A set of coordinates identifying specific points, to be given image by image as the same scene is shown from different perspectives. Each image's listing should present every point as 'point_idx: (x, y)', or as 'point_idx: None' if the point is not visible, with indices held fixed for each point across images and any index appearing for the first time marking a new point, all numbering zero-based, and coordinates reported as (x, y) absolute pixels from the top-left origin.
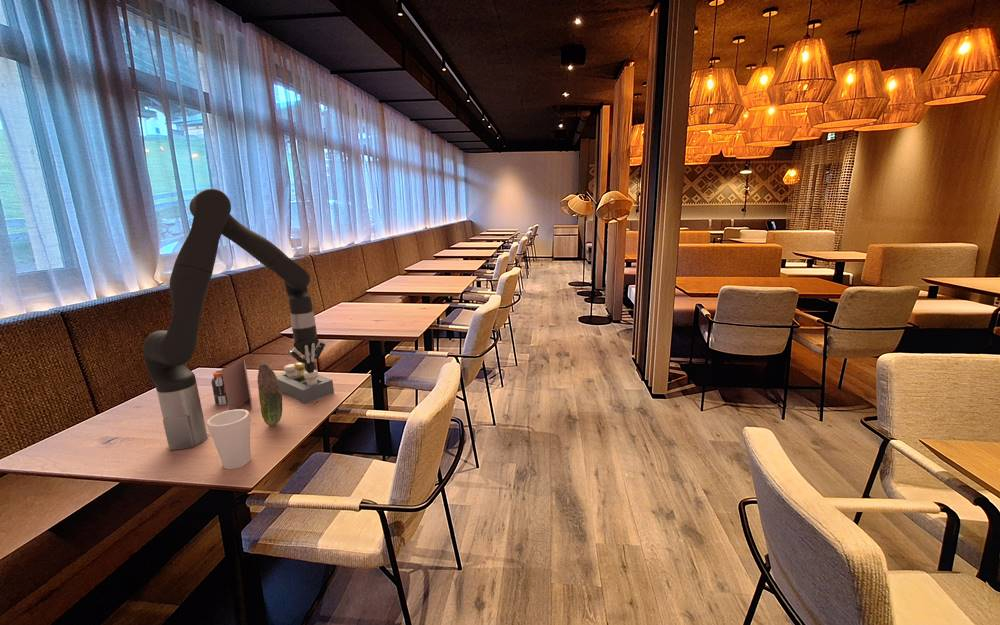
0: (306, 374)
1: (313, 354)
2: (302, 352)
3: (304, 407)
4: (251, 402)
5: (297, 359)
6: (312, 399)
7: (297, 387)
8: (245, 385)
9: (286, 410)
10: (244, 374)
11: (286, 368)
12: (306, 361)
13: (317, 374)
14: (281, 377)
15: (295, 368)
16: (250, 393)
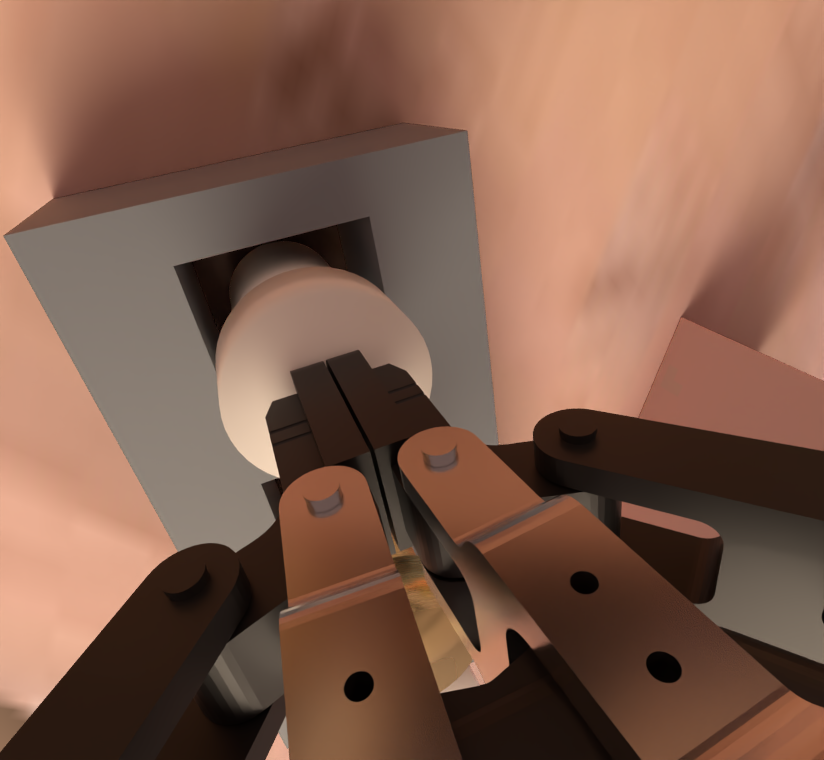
0: (414, 329)
1: (337, 605)
2: (754, 645)
3: (437, 29)
4: (648, 415)
5: (659, 535)
6: (329, 139)
7: (477, 280)
8: None
9: (565, 102)
10: None
11: (471, 674)
12: (488, 453)
13: (236, 321)
14: None
15: None
16: (637, 506)
